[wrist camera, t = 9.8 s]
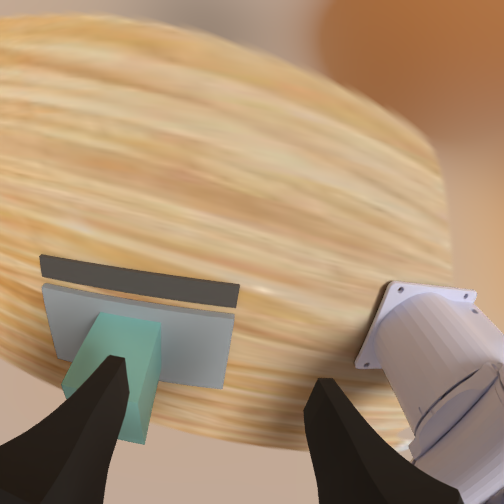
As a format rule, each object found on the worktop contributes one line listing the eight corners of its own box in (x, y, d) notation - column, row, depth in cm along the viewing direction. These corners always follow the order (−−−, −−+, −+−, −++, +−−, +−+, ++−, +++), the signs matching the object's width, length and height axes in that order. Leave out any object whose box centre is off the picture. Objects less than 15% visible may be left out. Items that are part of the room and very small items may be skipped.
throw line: (239, 284, 20) (239, 286, 20) (235, 305, 20) (235, 307, 20) (41, 254, 18) (39, 256, 18) (44, 274, 19) (42, 276, 19)
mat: (234, 314, 21) (234, 319, 20) (222, 383, 23) (222, 389, 23) (45, 282, 19) (41, 286, 19) (60, 353, 22) (57, 358, 21)
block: (160, 322, 20) (137, 403, 14) (161, 368, 22) (144, 444, 15) (100, 312, 20) (61, 384, 13) (106, 357, 21) (78, 428, 15)
